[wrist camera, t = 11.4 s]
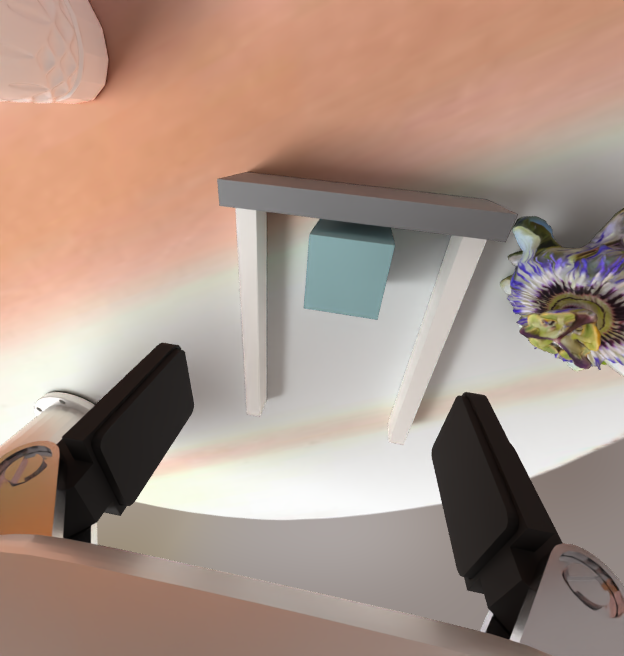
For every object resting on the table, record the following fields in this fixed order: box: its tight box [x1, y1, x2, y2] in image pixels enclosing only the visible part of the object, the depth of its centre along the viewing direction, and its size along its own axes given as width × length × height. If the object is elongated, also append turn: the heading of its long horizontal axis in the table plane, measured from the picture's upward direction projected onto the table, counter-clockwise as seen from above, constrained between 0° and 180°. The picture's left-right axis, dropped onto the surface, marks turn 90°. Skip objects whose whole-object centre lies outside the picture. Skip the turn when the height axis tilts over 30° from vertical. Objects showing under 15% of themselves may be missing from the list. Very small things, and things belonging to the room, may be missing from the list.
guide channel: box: [217, 172, 518, 445], centre depth 25 cm, size 24×17×5 cm
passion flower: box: [500, 208, 624, 376], centre depth 18 cm, size 11×11×12 cm
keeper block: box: [304, 219, 395, 320], centre depth 21 cm, size 5×5×6 cm
